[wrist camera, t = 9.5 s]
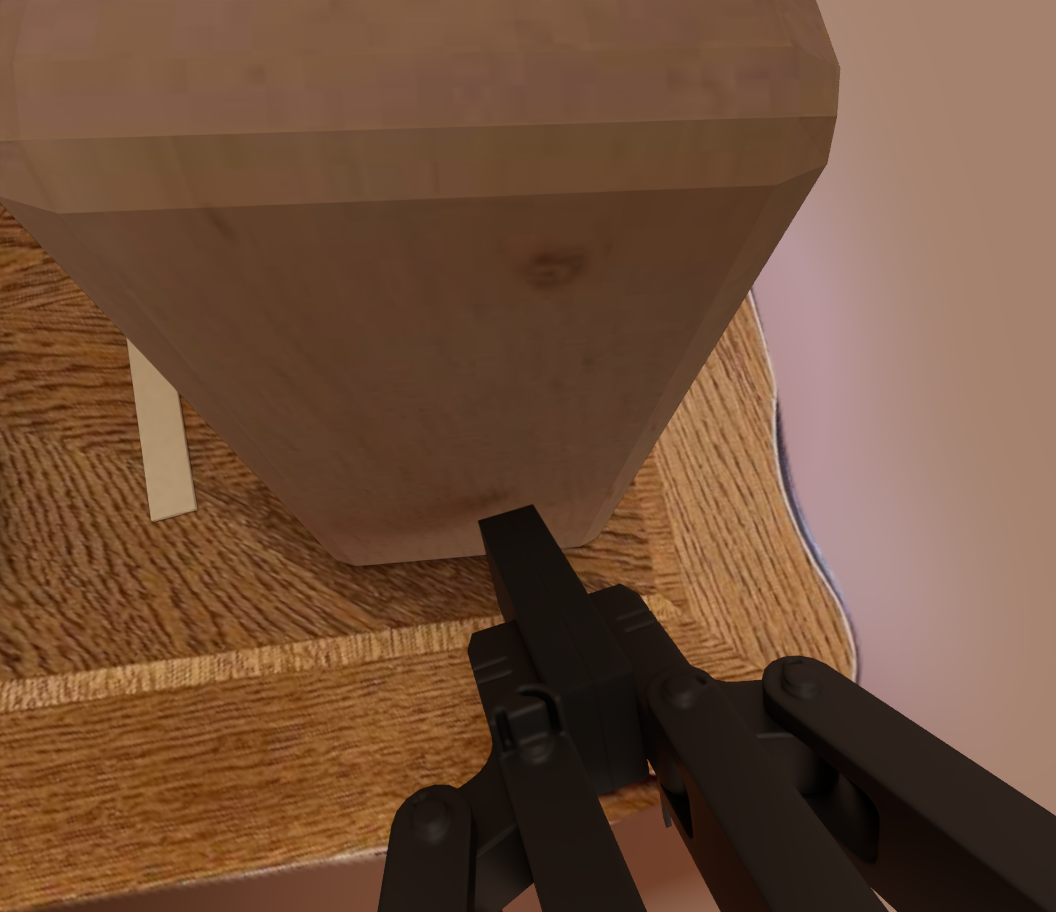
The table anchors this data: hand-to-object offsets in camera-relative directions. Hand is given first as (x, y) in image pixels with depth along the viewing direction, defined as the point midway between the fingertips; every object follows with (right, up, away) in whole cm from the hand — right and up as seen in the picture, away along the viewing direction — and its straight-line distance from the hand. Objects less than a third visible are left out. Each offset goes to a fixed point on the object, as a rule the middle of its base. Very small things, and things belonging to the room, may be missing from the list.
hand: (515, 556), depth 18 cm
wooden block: (-2, +3, +9) cm, 10 cm away
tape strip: (-15, +6, +9) cm, 18 cm away
